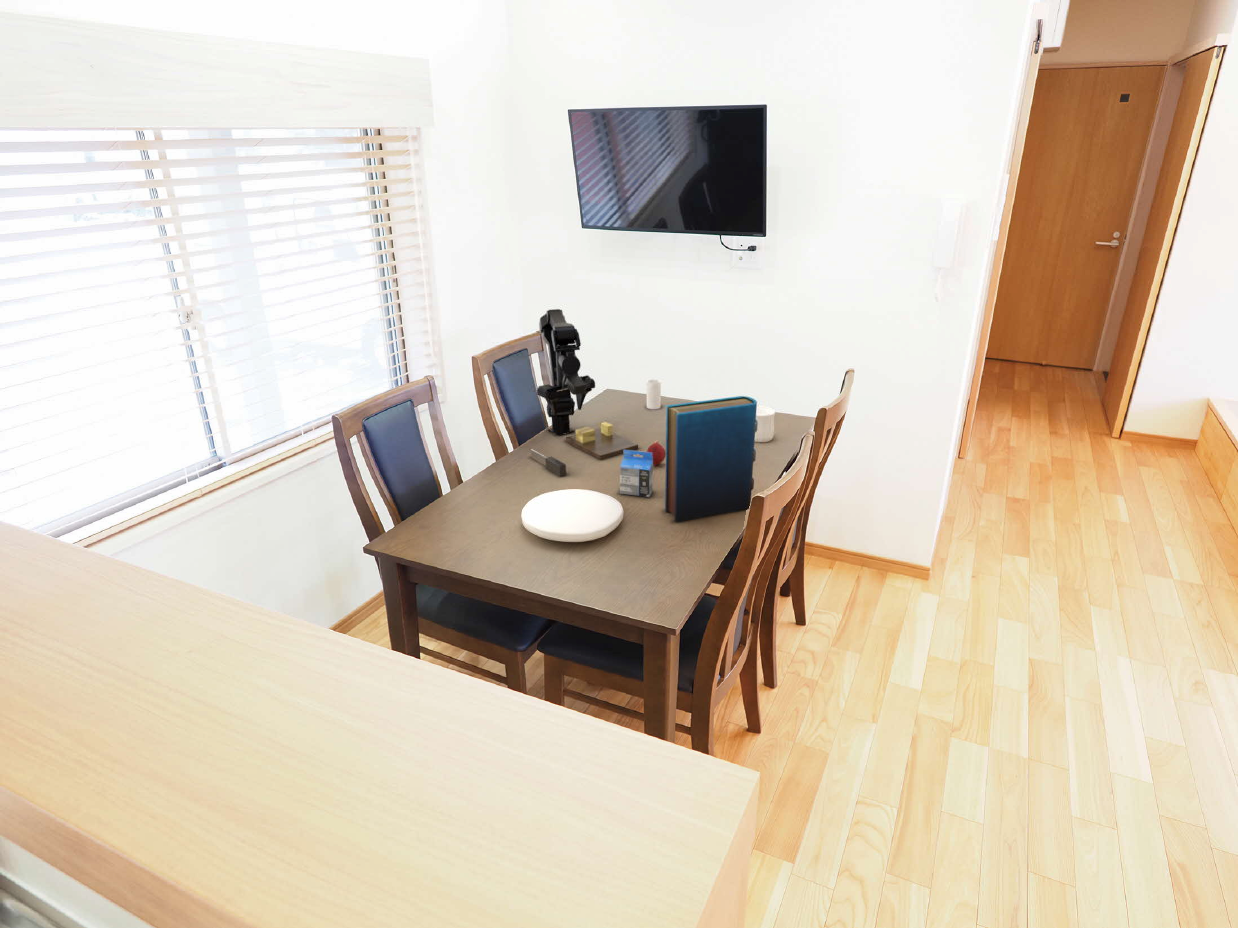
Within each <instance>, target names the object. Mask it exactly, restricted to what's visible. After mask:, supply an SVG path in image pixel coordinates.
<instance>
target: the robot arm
mask: <svg viewBox="0 0 1238 928" xmlns="http://www.w3.org/2000/svg"><path fill="white" fill-rule="evenodd" d="M538 328H539V334H541V339H542V340H543V341H544V343H545V344H546V345H547V350H548V359H549V368H550V378H551V384H548V383H547V384H543V385H538V387H537V389H536V395H537V396H539V397H541V398H543V399H544V400H545V401H546V403H547V404H546V414H547V416H548V418H551V428H548V432H550V433H552V434H554V435H555V436H562V435H566V434H569V433H573V432H574V429H572V428H571V422H570V416H574V414H575V406H576V407H577V410H578V411H581V410H582V407H583V404H584V401H585V398H586V396H587V394H588V393H589V392H592V390H593V389H595V388H596V382H595V380H594V378H592V377H591V376H590V375H588V374H586V375H582V376H581V375H580V376H579V371H580V369H581V361H580V359H579V358H578V356H577V355H576V351H580V350H581V345H582V342H581V338H580V337H581V336H580V333H579V331H578V329H577V328H576V327H575V325H573V324H572V323H569V322H567V321H566V317H565V315H564V314H563V309H560V308H554V309H552V308H551V309H548V310H546V311H545V314H543V315H542V316H541V317H540V318H539V322H538ZM572 395H574V396H575V400H576V401H574V398H573V397H572Z"/></svg>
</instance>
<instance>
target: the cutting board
mask: <svg viewBox="0 0 1238 928" xmlns="http://www.w3.org/2000/svg"><path fill="white" fill-rule="evenodd" d="M564 439H565V443H567V444H570V445H571V446H574V447H575V448H577V449H578V450H581V451H582V452H584V453H586V454H588V455H590V456H592V457H594V458H596V459H597V460H600V461H603V460H605V459H609V458H613V457H615V456H619V455H622V454H624V452H623V450H632V451H637V450H638V449H639V444H638V443H635V442H633V441H632V440H629V439H627V438H625V437H623V436H621V435H619V434H617V433H614V432H613V435H611V436H606V435H604V434H602V433H601V427H598V428H595V429H594V428H592V427H590V426H585V427H582V428H577V429H575V434H572V435H569V436H565V438H564Z"/></svg>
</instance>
